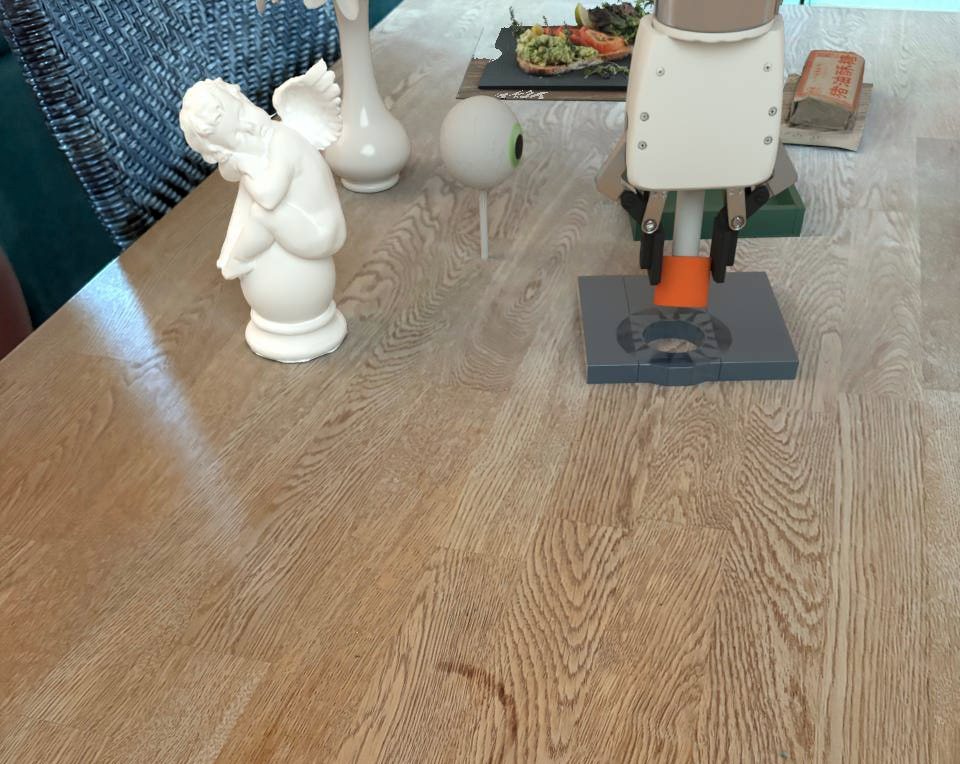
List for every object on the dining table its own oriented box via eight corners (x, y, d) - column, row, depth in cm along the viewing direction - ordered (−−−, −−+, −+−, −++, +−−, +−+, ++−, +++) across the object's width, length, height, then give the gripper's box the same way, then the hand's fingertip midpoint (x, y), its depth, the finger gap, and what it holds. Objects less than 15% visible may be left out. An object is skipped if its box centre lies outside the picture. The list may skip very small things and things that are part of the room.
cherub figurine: (217, 355, 86) (147, 70, 70) (275, 284, 94) (224, 14, 78) (352, 373, 83) (312, 81, 67) (400, 298, 91) (374, 22, 75)
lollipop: (508, 295, 91) (506, 118, 80) (435, 284, 93) (422, 109, 82) (533, 258, 95) (534, 86, 84) (462, 248, 97) (454, 79, 86)
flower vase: (287, 159, 113) (242, -117, 95) (453, 156, 112) (439, -123, 94) (267, 211, 104) (212, -81, 86) (446, 208, 103) (430, -88, 85)
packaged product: (793, 42, 120) (882, 49, 117) (785, 86, 123) (871, 94, 121) (771, 97, 108) (869, 106, 106) (763, 144, 112) (857, 154, 109)
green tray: (770, 174, 106) (776, 144, 104) (799, 239, 97) (805, 208, 94) (621, 178, 107) (623, 149, 105) (634, 243, 97) (636, 212, 95)
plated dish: (455, 100, 123) (452, 32, 118) (481, 29, 143) (480, -32, 137) (748, 106, 120) (760, 36, 115) (734, 32, 140) (743, -30, 134)
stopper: (700, 305, 79) (713, 178, 76) (712, 308, 76) (726, 175, 72) (649, 303, 79) (660, 176, 76) (658, 306, 76) (670, 173, 72)
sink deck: (759, 303, 89) (765, 271, 87) (793, 398, 79) (801, 364, 77) (575, 307, 89) (577, 275, 87) (586, 403, 79) (588, 369, 77)
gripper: (838, -27, 65) (787, 248, 79) (576, -15, 66) (569, 255, 79) (867, 10, 60) (807, 297, 74) (583, 22, 61) (575, 305, 74)
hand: (684, 273), depth 76 cm, fingers closed on stopper, 4 cm apart
